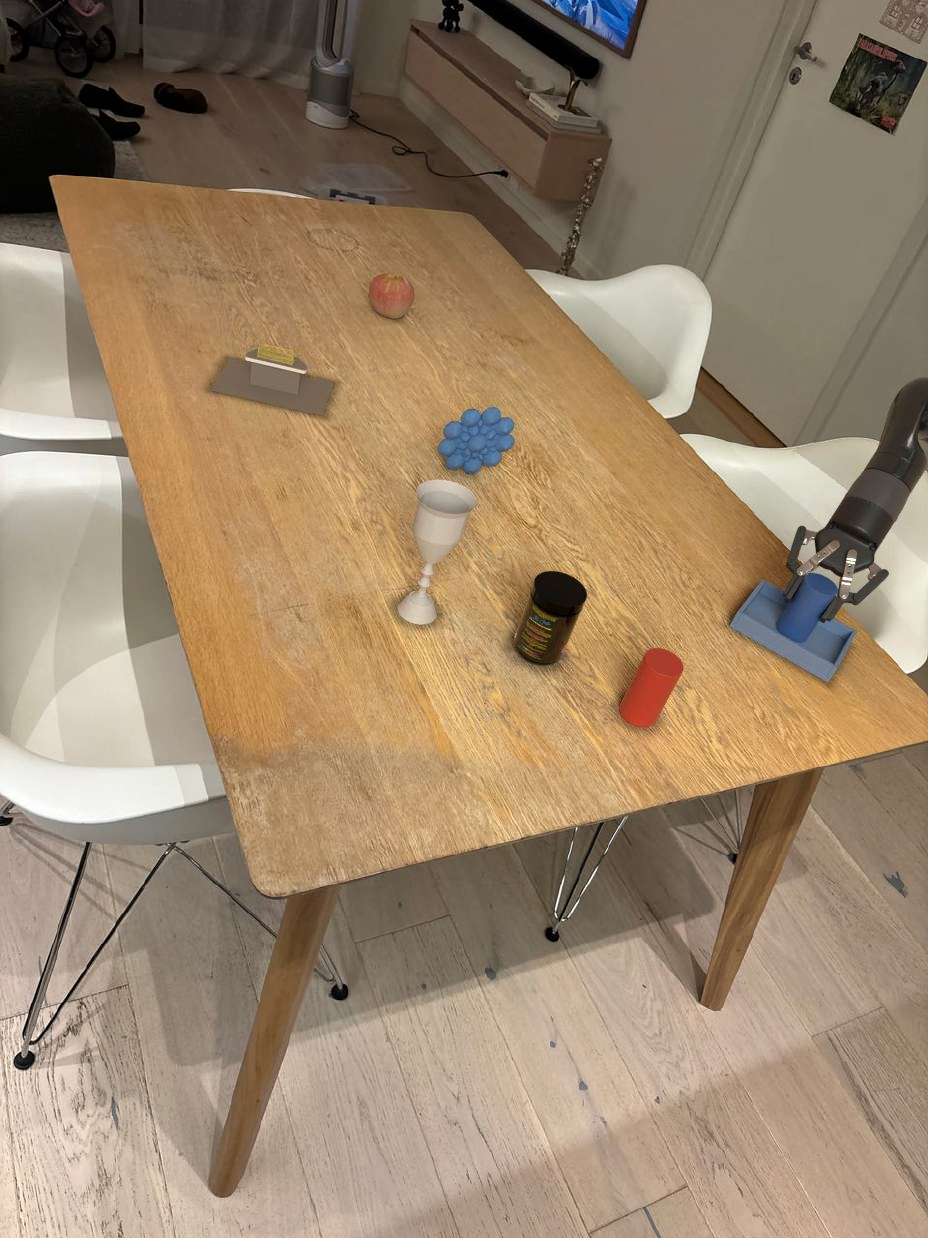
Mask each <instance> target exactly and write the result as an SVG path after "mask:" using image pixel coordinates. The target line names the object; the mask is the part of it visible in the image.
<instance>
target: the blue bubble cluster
mask: <svg viewBox="0 0 928 1238" xmlns="http://www.w3.org/2000/svg"><path fill="white" fill-rule="evenodd" d="M514 429H515V421H514V420H513V418H511V417H509V416H504V417H502V412H501V410H500V409H499V408H498V407H497V406H490V407H487V408H486V409H484V410H483V412H482V413H481V412H480V410H479V409H477V408H468V409H466V410H464V411H463V412H462V414H461V415H460V421H458V420H453V421H450V422H448V423H447V424H446V425H445V426H444V427H443V429H442V430H443V431H442V433H443V436H444V437H445V438H444V439H443V440H441V441H440V442H439V443H438V444H437V453H438V454H439V456H441V457H445V462H444V464H445V467H446V468H447V469H448V470H450V471H456V470H459V469H460V468H462V470H463V471H464V473H465V474H468V475H474V474H476V473H478V472H479V471H481V469H482V468H483V466H485V467H486V468H494V467H496V466H497V465H499V464H500V463H501V461H502V459H503V454H502V453H506V452H509V451H510V450H511V449H512V448H513V447H514V446H515V438H514V436H513V434H511V433H512V432H513V430H514Z"/></svg>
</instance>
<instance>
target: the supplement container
mask: <svg viewBox="0 0 928 1238" xmlns="http://www.w3.org/2000/svg"><path fill="white" fill-rule="evenodd" d="M587 598H588V591H587V589H586V587H585V585H583V583H582V582H581V581H580V580H578V579H577V578H576V577H574V576H572V575H570V574H568V573H565V572H563V571H558V570H546V571H542V572H540V573H538V574H537V575H536V576H535V577H534V579H533V583H532V585H531V587H530V591H529V594H528V597H527V600H526V602H525V604H524V608H523V611H522V614H521V616H520V619H519V622H518V625H517V628H516V631H515V632H514V635H513V640H512V641H513V647H514V650H515V652H516V653H517V654H518V656H519V657H520V658H521V659H523V660H524V661H525V662H527V663H529V664H532V665H534V666H539V667H549V666H552V665H555V664H557V663H558V662H559V661H560V660H562V658H563V656H564V653H565V651H566V649H567V647H568V644H569V642H570V639H571V637H572V634H573V633H574V630H575V627H576V625H577V622H578V620H579V618H580V615H581V613H582V611H583V609H584V607H585V603H586V601H587Z"/></svg>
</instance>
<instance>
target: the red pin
mask: <svg viewBox="0 0 928 1238" xmlns="http://www.w3.org/2000/svg"><path fill="white" fill-rule="evenodd" d="M637 667H638V668H637V669H636V671H635V673H634V675H633V677H632V679H631V682H630V683H629V685H628V687H627V689H626V691H625V694H624V695H623V697H622V699H621V702H620V704H619V707H618V708H619V713H620V715H621V717H622V718H623V719H624V720H625V721H626V722H627V723H629V724H630V725H632V726H634V727H637V728H642V729H647V728H650V727H653V726H654V725H655V724H656V723H657V721H658V719H659V717H660V715H661V713H662V711H663V710H664V707H665V706H666V704H667V702H668V700H669V699H670V696H671V695H672V693H673V691H674V689H675V688H676V685H677V684H678V682H679V680H680V678H681V676H682V674H683V672H684V670H685V669H684V663H683V661H682V659H681V658H680V657H679V656H677V655H676V654H675V653H674V652H672V651H670V650H668V649H666V648H661V647H652V648H649V649H647V650H646V651H645V652H644V655H643V656H642V659H641V661H640V663H639V665H638V666H637Z"/></svg>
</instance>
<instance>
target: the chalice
mask: <svg viewBox="0 0 928 1238" xmlns="http://www.w3.org/2000/svg"><path fill="white" fill-rule="evenodd" d="M415 492H416V498H417V501H418V502H417V505H416V510H415V514H414V517H413V521H412V522H413V523H412V530H413V534H414V535H413V536H414V541H415V545H416V548H417V549H418V553H419V555H420V556H419V557H420V558H421V559H422V560H423V561H425V563H424V565H423V567H422V568H420V572H421V574H422V576H421V578H418V580H417V584H418V586H419V587H418V588H419V589H418V590H417V589H416V590H412V591H410V592H409V593H407V595H406V596H405V597H404V598H403V599H402V600H401V602H399V603H398V606H397V612H398V614H399V615H400V617H401V618H402V619H404V621H406V622H408V623H411V624H415V625H428V624H430V623H433V622H434V621H435V620H436V619H437V610H436V606H435V600H434V599H433V597H432V596H431V595H430V594H429V593H428V592H427V590H428V588H430V587H431V586H432V581H431V576H432V575H434V574H435V570H434V564H438V563H440V562H442V561H443V560H444V559H445V558H446V557H447V556H448V555H449V554H450V553H452V551H454V550H455V548H456V547H457V546H458V544H459V543H460V542H461V541H462V539H463V537H464V534H465V530H466V527H467V524H468V520H469V516H470V513H472V511H473V510H474V509H475V508H476V506H477V504H478V500H477V496H476V495H475V493H473V491H472V490H471V489H469V488H468V487H467V486H465V485H463V484H460V483H458V482H455V481H451V480H448V479H447V480H446V479H430V480H427V481H424V482H421V483H420V484H419V485H418V486H417V487H416V490H415Z"/></svg>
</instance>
